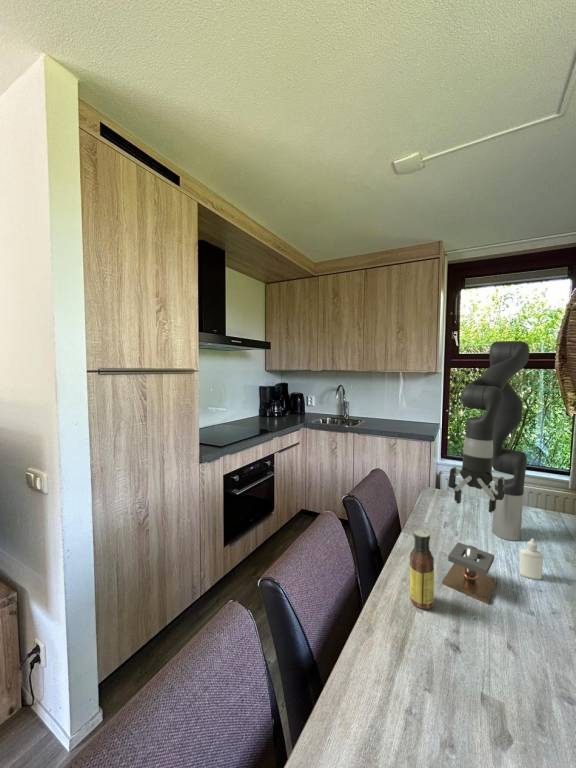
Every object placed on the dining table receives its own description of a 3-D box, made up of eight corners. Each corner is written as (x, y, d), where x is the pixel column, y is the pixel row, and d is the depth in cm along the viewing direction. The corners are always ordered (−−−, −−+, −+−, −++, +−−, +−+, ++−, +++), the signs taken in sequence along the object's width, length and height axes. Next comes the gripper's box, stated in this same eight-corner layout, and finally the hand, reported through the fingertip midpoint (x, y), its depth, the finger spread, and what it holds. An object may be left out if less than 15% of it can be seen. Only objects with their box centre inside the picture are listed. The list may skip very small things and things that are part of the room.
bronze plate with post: (454, 565, 107) (455, 533, 106) (496, 582, 99) (499, 547, 98) (442, 583, 98) (444, 548, 97) (488, 604, 90) (490, 566, 89)
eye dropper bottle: (539, 583, 99) (542, 545, 98) (517, 574, 103) (519, 537, 102) (542, 577, 102) (545, 540, 101) (521, 568, 106) (523, 532, 105)
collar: (457, 546, 105) (457, 542, 105) (493, 560, 98) (494, 554, 98) (448, 560, 98) (448, 555, 98) (486, 576, 91) (486, 570, 91)
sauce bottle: (432, 597, 93) (435, 529, 91) (434, 613, 87) (438, 541, 85) (407, 591, 95) (410, 525, 93) (408, 607, 89) (411, 536, 87)
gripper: (508, 456, 94) (504, 511, 95) (455, 446, 104) (452, 496, 105) (504, 461, 89) (499, 519, 90) (448, 450, 98) (444, 503, 99)
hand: (474, 507), depth 97 cm, fingers open, 8 cm apart
